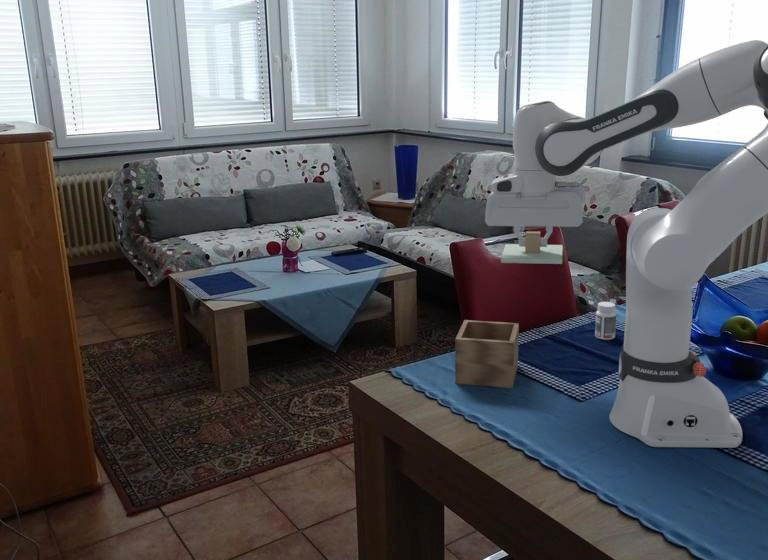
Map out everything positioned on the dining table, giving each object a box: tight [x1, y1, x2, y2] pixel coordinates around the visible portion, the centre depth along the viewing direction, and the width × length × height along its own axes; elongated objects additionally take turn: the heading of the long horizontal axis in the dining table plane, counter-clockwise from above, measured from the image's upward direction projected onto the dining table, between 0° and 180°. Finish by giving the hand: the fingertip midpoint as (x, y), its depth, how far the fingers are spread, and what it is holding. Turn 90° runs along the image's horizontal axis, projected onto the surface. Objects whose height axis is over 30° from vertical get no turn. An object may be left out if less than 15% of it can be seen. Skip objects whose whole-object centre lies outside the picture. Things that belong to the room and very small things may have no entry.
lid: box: [500, 230, 564, 265], centre depth 156 cm, size 12×12×5 cm
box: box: [454, 319, 520, 389], centre depth 156 cm, size 12×12×10 cm
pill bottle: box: [594, 301, 617, 341], centre depth 176 cm, size 5×5×8 cm
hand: (532, 246), depth 156 cm, fingers closed on lid, 3 cm apart
